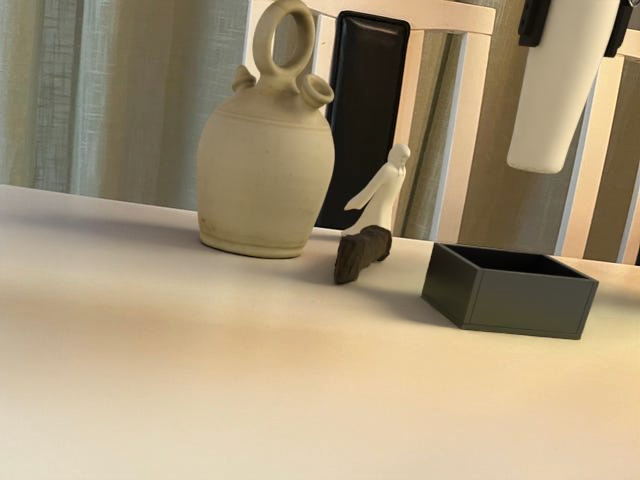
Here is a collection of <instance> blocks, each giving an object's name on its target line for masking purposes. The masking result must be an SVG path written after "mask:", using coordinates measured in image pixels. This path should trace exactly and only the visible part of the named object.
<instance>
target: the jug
mask: <svg viewBox="0 0 640 480" xmlns="http://www.w3.org/2000/svg"><path fill="white" fill-rule="evenodd" d="M288 15H291V16H292V18H293V19H294V22H295V26H296V32H297V33H296V43H295V46H294V49H293V52H292V54H291V56H290V57H289V59H288V60H287V61H286V62H285V63H284V64H282V65H280V66H278V64H276V63H275V61H274V59H273V55H272V44H273V43H272V42H273V38H274V34H275V31H276V29H277V27H278V26H279V24H280V22H281V21H282V20H283V19H284V18H285V17H286V16H288ZM315 40H316V26H315V20H314V16H313V14H312V12H311V9H310V8H309V7H308V5H307V4H306V2H304V1H303V0H274V1H273V2H272V3H270V4H269V5H268V6H267V7H266V8H265V9H264V11H263V12H262V14H261V15H260V17H259V19H258V21H257V23H256V26H255V29H254V32H253V38H252V44H251V48H252V49H251V50H252V59H253V62H254V65H255V68H256V69H257V71H258V72H259V78H258V79H257V77H256V76H255V75H253V74H251V72H250V70H249V69H248V67H247V66H246V65H244V64H240V65H238V66H237V67H236V69H235V73H234V81H233V82H232V84H231V90H232V91H233V92H234V94H233V95H231V96H229V97H228V98H226V99H225V100H224V101H222V102H221V103H219V104H218V105H217V107H216V108H214V110H213V111H212V112H211V115H210V116H209V117H208V119H207V121H206V123H205V125H204V127H203V129H202V132H201V134H200V138H199V141H198V146H197V152H196V161H195V162H196V167H195V168H196V170H195V171H196V201H197V203H196V206H197V209H196V210H197V221H198V228H199V240H200V242H201V243H202V244H204V245H205V246H208V247H211V248H215V249H218V250H221V251H224V252H229V253H231V254H232V253H233V254H237V255H239V254H240V255H243V256H244V255H245V256H249V257H256V258H262V259H286V258H296V257H299V256H301V255H302V254H303V253H304V248H305V247H306V245H307V243H308V241H309V239H310V237H311V235H312V232H313V229H314V226H315V224H316V222H317V220H318V217H319V215H320V212H321V210H322V207H323V205H324V202H325V199H326V196H327V194H328V190H329V187H330V184H331V180H332V177H333V172H334V166H335V158H336V157H335V143H334V137H333V134H332V129H331V126H330V123H329V121H328V120H327V118H326V117H325V116H324V115H323V113H322V112H321V110H320V108H323V107H325V106H326V105H329V104H330V103H331V102H333V100H334V98H335V94H334V90H333V89H332V87H331V86H330V84H329V83H328V82H327V81H326V80H325V79H324V78H322V77H320V76H319V75H317V74H313V73H307V74H305V75H304V76H303V79H302V85H301V87H300V90H299V88H298V87H297V86H298V85H297V83H296V79H297V76H299V75H300V74H301V73H302V72H303V71H304V70H305V68H306V66H307V65H308V63H309V61H310V59H311V56H312V53H313V51H314V47H315V43H316V42H315Z"/></svg>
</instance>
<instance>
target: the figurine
mask: <svg viewBox="0 0 640 480" xmlns="http://www.w3.org/2000/svg"><path fill="white" fill-rule="evenodd" d="M410 156H411V149H410V148H409V146H408V145H407V144H405V143H402V142H398V143H396V144H394V145H393V146H392V148H391V149H390V150H389V153H388V155H387V162H385V163H384V164H383V165H382V166H381V168H380V169H379V170H378V171H377V172H376V173H375V175H374V176H373V177H372V179H371V180H370V181H369V182H368V184H367V185H366V186H365V187H364V188H363V189H362V190H361V191H360V192H359V193H357V194H356V195H355V196H354V197H352V198H351V199H350V200H349V201H348V202H347V203H346V205H345V207H344V208H343V210H344V211H348V210H353V209H356V210H361V209H362V208H363V207H364V206H365V205H366V204H367V203H368V204H367V205H366V207H364V210H363V212H362V214H361V216H360V217H359V218H358V220H357V221H356V222H355V223H354V224H353V225H352V226H351V227H348V228H346V229H344V230H342V231H340V233H339V234H340V236H342V237H344V236H345V235H348V234H349V235H354V234H357V233H360V230H361V229H362V228H364V227H366V226H370V225H378V226H380V227H383V228H385V229H388V230H389V231H391V229H392V214H393V213H392V212H393V206H394V203H395V202H396V200H397V198H398V196H399V194H400V191H401V190H402V187H403V183H404V181H405V179H406V174H407V170H406V163H407V162H408V159H409V158H410ZM391 232H392V231H391Z"/></svg>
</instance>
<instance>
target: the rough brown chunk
mask: <svg viewBox="0 0 640 480" xmlns="http://www.w3.org/2000/svg"><path fill="white" fill-rule="evenodd" d="M338 243H339V244H338V247H337V252H336V257H335V260H334V270H333V271H334V272H333V280H334V282H335V283H338V284H344V283H345V284H346V283H349V282H352V281H357V280H358V279H359V277H360V272H361V271H362V270H364V269H365V268H369V266H371V264H372V263H375V262H378V263H382V262H384V261H385V260H386V259H387V258H388V257H389V256H390V255H391V253H390V251H391V250H392V245H393V234H392V231H389V230H388V229H385V228H383V227H380V226H378V225H370V226H366V227H364V228H362V229H361V230H360V233H357V234H354V235H349V234H348V235H344V236H342V237H341V238H340V240H339V242H338Z"/></svg>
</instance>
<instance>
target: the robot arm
mask: <svg viewBox="0 0 640 480" xmlns="http://www.w3.org/2000/svg"><path fill="white" fill-rule="evenodd" d="M550 3H551V0H524V4H523V7H522V13H521V15H520V19H519V23H518V27H517V34H518V36H519V38H518V43H517V45H518V46H519V47H526V48H529V47H536V46H538V45H539V43H540V40H541V36H542V32H543V29H544V25H545V21H546V18H547V14H548V10H549V7H550ZM639 6H640V0H620V4H619V8H618V11H617V15H616V19H615V22H614V26H613V29H612V32H611V36H610V39H609V42H608V45H607V47H606V50H605V53H604V56H603V58H608V59H609V58H610V59H614V58H615V57H616V56H617V53H618V50H619V49H620V48H621V47H622V45H623V43H624V40H625V37H626V34H627V30H628V27H629V24H630V21H631V17H632V14H633V11H634V9H635V8H637V7H639Z"/></svg>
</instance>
